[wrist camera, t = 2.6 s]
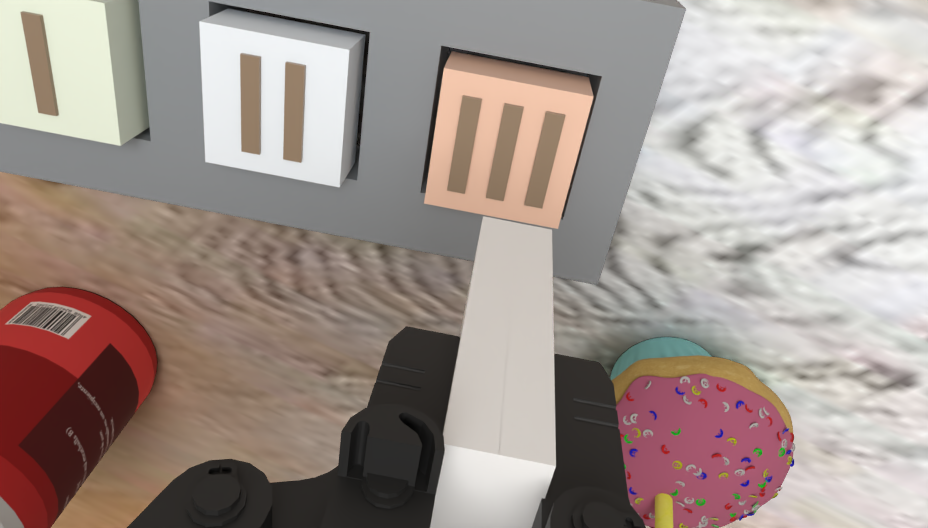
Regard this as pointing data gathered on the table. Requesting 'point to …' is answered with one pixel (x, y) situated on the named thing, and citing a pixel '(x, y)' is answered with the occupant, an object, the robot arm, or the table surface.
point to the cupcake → (697, 435)
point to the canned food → (63, 396)
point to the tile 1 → (73, 68)
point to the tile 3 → (506, 139)
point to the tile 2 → (280, 95)
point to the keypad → (386, 120)
